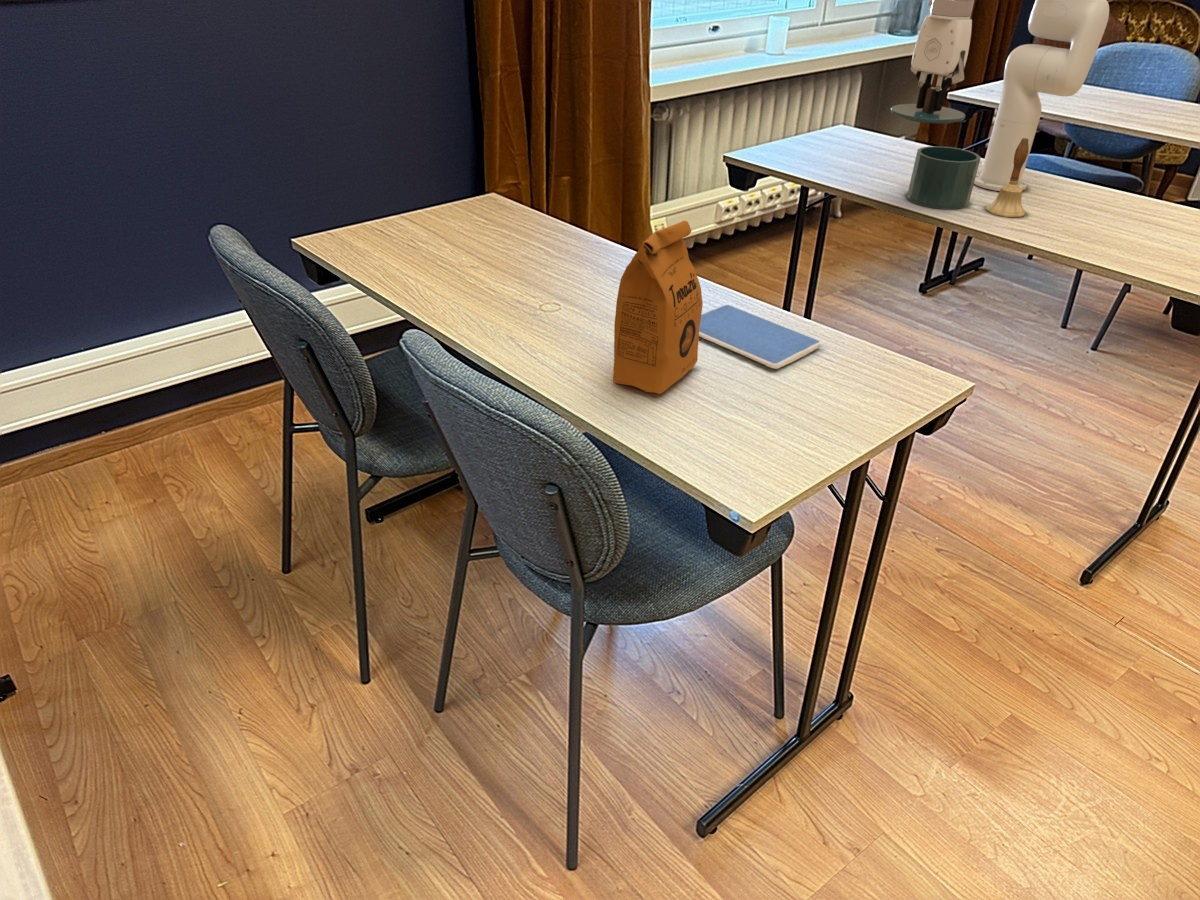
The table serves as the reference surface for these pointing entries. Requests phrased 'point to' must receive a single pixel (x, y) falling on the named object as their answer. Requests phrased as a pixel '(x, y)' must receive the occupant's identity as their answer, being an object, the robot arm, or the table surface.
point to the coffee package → (657, 313)
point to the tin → (943, 177)
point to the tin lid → (927, 112)
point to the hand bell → (1011, 188)
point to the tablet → (755, 336)
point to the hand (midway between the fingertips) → (928, 108)
